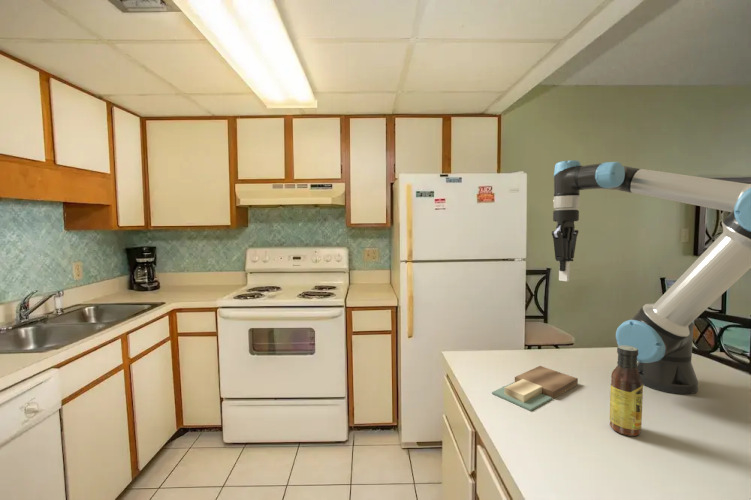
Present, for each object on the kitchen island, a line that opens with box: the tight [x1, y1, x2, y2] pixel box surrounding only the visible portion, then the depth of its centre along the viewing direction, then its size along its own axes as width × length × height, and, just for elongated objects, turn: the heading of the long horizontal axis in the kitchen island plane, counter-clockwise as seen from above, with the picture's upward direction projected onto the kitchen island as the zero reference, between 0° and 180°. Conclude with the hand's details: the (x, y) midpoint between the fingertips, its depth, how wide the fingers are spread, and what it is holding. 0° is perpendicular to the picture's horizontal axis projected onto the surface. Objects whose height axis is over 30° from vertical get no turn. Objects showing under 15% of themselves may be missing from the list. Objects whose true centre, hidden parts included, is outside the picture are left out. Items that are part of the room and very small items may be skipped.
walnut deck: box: [514, 365, 579, 400], centre depth 110 cm, size 12×14×2 cm
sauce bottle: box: [609, 345, 644, 437], centre depth 85 cm, size 7×6×20 cm
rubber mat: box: [491, 381, 553, 412], centre depth 103 cm, size 12×10×1 cm
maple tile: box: [505, 379, 542, 403], centre depth 103 cm, size 6×9×2 cm, turn 125°
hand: (564, 280), depth 121 cm, fingers closed
